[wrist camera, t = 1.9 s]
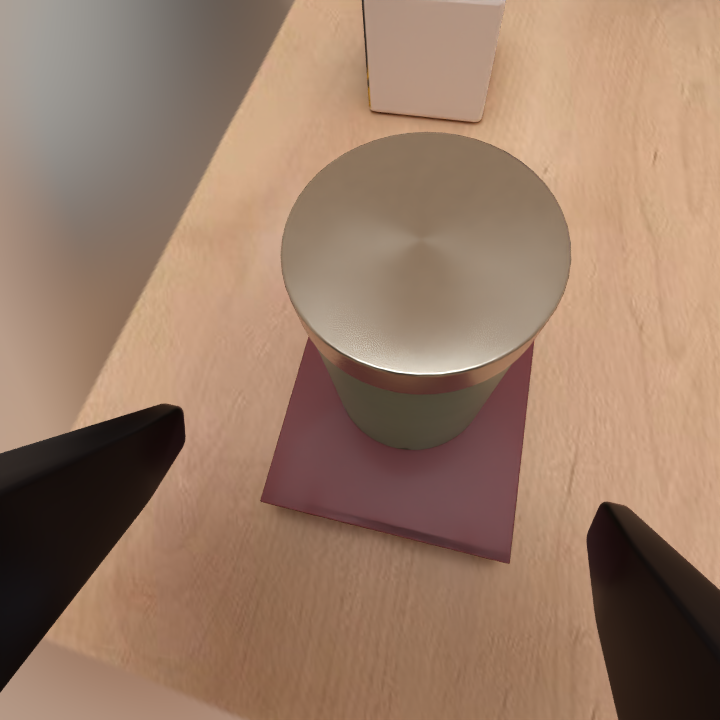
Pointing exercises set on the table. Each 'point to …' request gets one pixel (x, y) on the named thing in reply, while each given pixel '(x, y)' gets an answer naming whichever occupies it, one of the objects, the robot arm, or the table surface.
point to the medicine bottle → (431, 55)
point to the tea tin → (423, 278)
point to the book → (404, 467)
